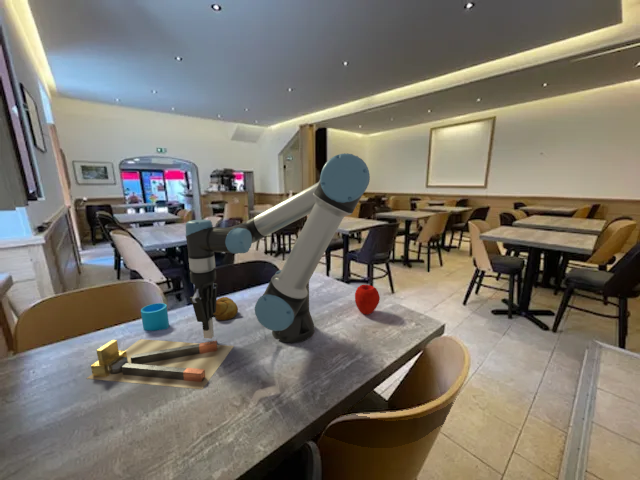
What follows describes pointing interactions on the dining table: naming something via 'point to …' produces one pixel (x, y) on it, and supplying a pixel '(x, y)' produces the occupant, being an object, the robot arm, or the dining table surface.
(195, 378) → the tong fixed
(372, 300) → the apple
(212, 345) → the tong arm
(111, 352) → the yellow stepped block
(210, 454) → the dining table surface
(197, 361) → the board
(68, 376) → the dining table surface
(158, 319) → the mug
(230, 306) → the bread roll
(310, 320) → the robot arm
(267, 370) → the dining table surface
